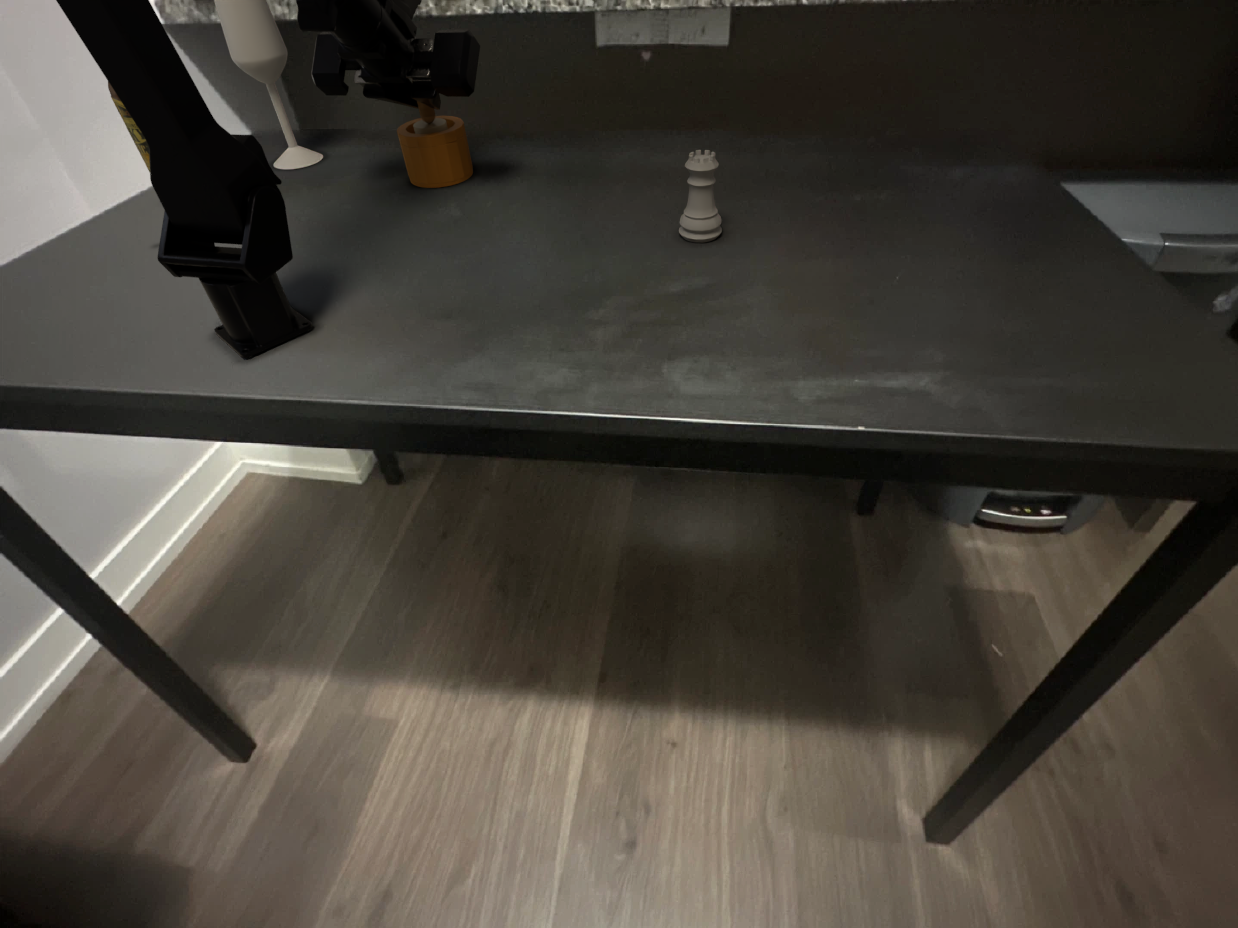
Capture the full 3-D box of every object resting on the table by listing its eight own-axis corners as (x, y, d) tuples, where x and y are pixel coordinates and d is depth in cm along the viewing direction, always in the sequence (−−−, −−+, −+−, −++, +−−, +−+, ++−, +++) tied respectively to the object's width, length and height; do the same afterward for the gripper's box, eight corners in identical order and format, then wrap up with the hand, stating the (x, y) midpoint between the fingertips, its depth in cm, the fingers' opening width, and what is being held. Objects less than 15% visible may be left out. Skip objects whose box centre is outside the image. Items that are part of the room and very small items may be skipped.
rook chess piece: (730, 232, 71) (735, 151, 65) (704, 248, 68) (706, 166, 63) (696, 221, 73) (698, 143, 68) (669, 236, 71) (669, 156, 65)
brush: (454, 157, 88) (429, 41, 79) (455, 168, 85) (430, 49, 76) (423, 161, 88) (394, 45, 79) (423, 172, 85) (393, 53, 76)
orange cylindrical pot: (485, 173, 87) (476, 122, 83) (433, 193, 83) (420, 141, 79) (449, 160, 91) (439, 111, 87) (398, 178, 88) (384, 128, 83)
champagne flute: (280, 154, 97) (200, -56, 81) (327, 149, 98) (257, -61, 81) (267, 171, 92) (179, -49, 76) (317, 166, 93) (240, -54, 76)
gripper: (452, -66, 66) (511, 39, 81) (285, -58, 70) (371, 41, 85) (437, 47, 66) (499, 131, 81) (270, 49, 70) (359, 129, 85)
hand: (431, 105), depth 83 cm, fingers closed on brush, 2 cm apart
